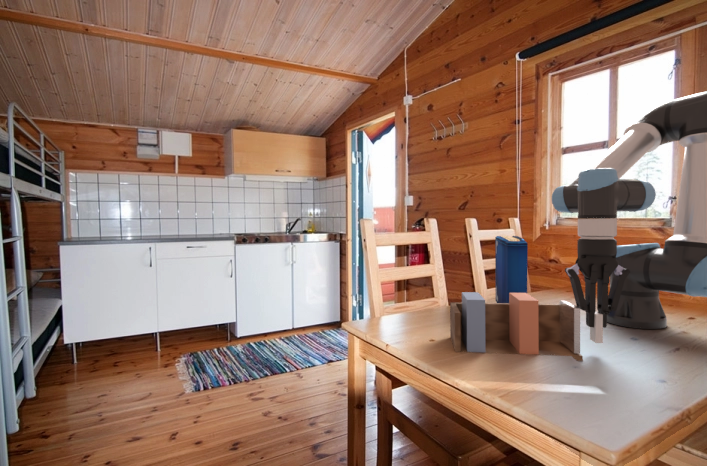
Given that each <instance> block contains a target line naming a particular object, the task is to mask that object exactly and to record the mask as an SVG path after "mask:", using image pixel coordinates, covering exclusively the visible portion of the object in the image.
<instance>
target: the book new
mask: <svg viewBox="0 0 707 466" xmlns="http://www.w3.org/2000/svg"><path fill="white" fill-rule="evenodd" d="M538 304H539V300H538V299H537V298H535V297H534V296H532V295H530V294H529V293H528V292H527V293H509V341H510V342H511V344H512V345H513V346H514V347H515V349H516V350H517V351H518V352H519V354H518V355H526V354H539V323H538Z"/></svg>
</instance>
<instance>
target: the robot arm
mask: <svg viewBox="0 0 707 466" xmlns="http://www.w3.org/2000/svg"><path fill="white" fill-rule="evenodd" d="M677 141H678V144H679V145H680V146H682V148H684V154H683V159H682V160H683V161H682V166H681V167H682V168H681V175H680V183H679V190H678V197H677V204H676V205H677V206H676V211H675V212H676V213H675V220H674V226H673V227H674V228H673V233H672V234H673V235H672V236H670V237H669V238H667V239H665V240H664V245H663V246H664V247H663V248H661V245H660V243H658V242H652V243H651V242H649V243H636V244H635V243H634V244H622V245H620V244H619V245H618V241H617V239H615V238H614V237H617V236H618V219H617V218H618V215H617V214H618V212H631V213H632V212H633V213H636V212H640V211H644V210H646V209H649V208H650V207H651V206H652V205H653V204H654V202H655V199H656V189H655V187H654V186H653V185H652V184H651V183H650V182H649V181H647V180H645V179H639V178H633V179H631V178H627V179H625V178H622V177H623V176H624V175H625V174H626V173H627V172H628V171H629V170H631V168H632V167H634V165H635V164H636V163H637V162H638V161H640V159H642V158H643V157H644V156H645V154H647V153H650V152H653V151H655V150H656V149H658V147H661V146H662V145H664V144H668V143H672V142H677ZM551 204H552V205H553V208H554V209H555V210H556V211H557V212H559V213H568V214H575V213H577V236H578V237H580V238H578V239H577V248H576V249H577V258H576V260H575V264H574V265H572V266H570V267H565V269H564V272H565V273H566V275H567V276H568V279H569V281H570V285H571V290H572V293H573V297H574V300H575V304H576V305H575V306H577V307H578V308H580V311H583V312H585V323H586V326H587V327H588V328H589V340H590V341H592V342H593V343H595V344H604V342H603V339H604V336H603V335H604V332H603V331H604V328H607V326H608V324H607V323H609V324H613V325H615V326H620V327H623V328H624V327H626V328H632V329H633V328H634V329H642V330H662V329H665V328H667V327H668V326H667V325H668V324H667V323H668V318H667V316H666V313H665V310H664V308H663V305H662V302H661V300H660V292H667V293H672V294H680V295H685V296H690V297H695V298H696V297H700V298H707V90H705V91H703V92H698V93H694V94H691V95H686V96H683V97H679V98H675V99H673V98H672V99H670V100H667V101H664V102H663V103H660V104H658V105H657V106H655V107H653V108H652V109H650V110H648V111H646V112H645V113H644V114H642V115H641V116H639V117H638V118H637V119H636V120H634V121H633V122H632V123H631V124H630V125H629V126H627V128H626V129H625V130H624V133H623V135H622V137H621V138H620V139H619V140H618V141H617V142H616V143H615V144H614V145H612V146H611V147H610V148H608V150H607V151H606V152H605V153H603V154H602V156H600V157H599V158H598V159H597V160H595V162H593V164H592V165H591V166H589V167H588V169H584V170H581V171H580V172H579V173H578V177H577V178H576V179H575V180H574V181H573V182H572V183H571V184H564V185H560V186H557V187H556V188H555V189H554V190H553V192H552V194H551ZM580 273H581V274H582V275H583V277H584V278H583V279H584V280H583V281H584V286H585V287H584V291H583V287H582V284H581V279H580V277H579V275H580ZM596 291H597V292H596ZM596 293H597V294H596ZM596 296H597V297H596ZM596 302H597V303H596ZM596 310H597V311H596Z"/></svg>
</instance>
